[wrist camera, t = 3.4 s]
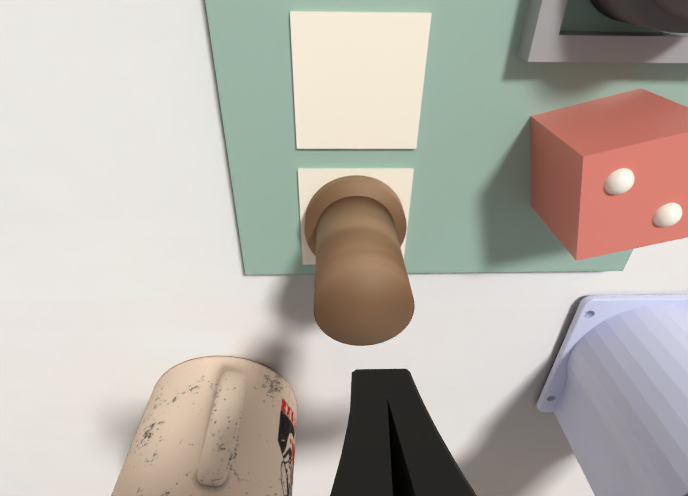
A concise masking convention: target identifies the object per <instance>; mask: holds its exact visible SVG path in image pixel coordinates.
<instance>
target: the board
mask: <svg viewBox="0 0 688 496" xmlns="http://www.w3.org/2000/svg"><path fill="white" fill-rule="evenodd" d="M205 3H206V10H207V17H208V24H209V31H210V37H211V44H212V51H213V58H214V65H215V72H216V78H217V85H218V92H219V99H220V106H221V113H222V119H223V126H224V133H225V140H226V147H227V153H228V160H229V167H230V174H231V181H232V188H233V194H234V201H235V208H236V215H237V222H238V229H239V235H240V242H241V249H242V256H243V263H244V270H245V275H269V274H315V263H316V256H315V255H314V254H313V253H312V251H311V250H310V248H309V246H308V244H307V242H306V238H305V232H304V227H305V214H306V209H307V207H308V204H309V202H310V200H311V198H312V197H313V195H314V194H315V193H316V192H317V191H318V190H319V189H320V188H321V187H322V186H324V185H325V184H327V183H328V182H330V181H332V180H335V179H337V178H340V177H345V176H351V175H361V176H368V177H372V178H375V179H377V180H379V181H382V182H383V183H385V184H386V185H388V186H389V187H390V188H391V189H392V190H393V191H394V192H395V193H396V194H397V196H398V198H399V199H400V202H401V204H402V207H403V210H404V214H405V217H406V223H407V229H406V235H405V238H404V241H403V243H402V245H401V247H400V248H401V252H402V256H403V259H404V263H405V267H406V271H407V273H466V272H564V271H623V269H624V267H625V265H626V263H627V261H628V259H629V257H630V255H631V253H632V250H633V249H629V250H625V251H620V252H615V253H610V254H606V255H601V256H596V257H592V258H587V259H582V260H577V261H576V260H575V259H574V258H573V256H572V255H571V254H570V253H569V251H568V250H567V249H566V248H565V247H564V245H563V244H562V243H561V242H560V241H559V239H558V238H557V237H556V236H555V235H554V233H553V232H552V231H551V230H550V228H549V227H548V226H547V225H546V224H545V222H544V221H543V220H542V219H541V218H540V216H539V215H538V214H537V213H536V212H535V210H534V209H533V208H532V207H531V116H533V115H537V114H541V113H545V112H549V111H553V110H557V109H560V108H564V107H568V106H572V105H576V104H580V103H584V102H588V101H592V100H596V99H600V98H604V97H608V96H612V95H616V94H620V93H624V92H628V91H632V90H636V89H640V88H642V89H645V90H647V91H650V92H652V93H654V94H657V95H659V96H662V97H664V98H667V99H669V100H671V101H674V102H676V103H679V104H681V105H684V106H686V107H688V33H671V32H666V31H661V30H657V29H652V28H647V27H643V26H638V25H633V24H629V23H624V22H620V21H616V20H613V19H611V18H609V17H607V16H605V15H604V14H602V13H601V12H599V11H598V10H597V9H596V8H595V6H594V5H593V4H592V3H591V1H590V0H205Z"/></svg>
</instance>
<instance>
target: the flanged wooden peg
mask: <svg viewBox="0 0 688 496" xmlns="http://www.w3.org/2000/svg"><path fill="white" fill-rule="evenodd" d="M406 229H407V223H406V217H405V214H404V210H403V207H402V204H401V202H400V199H399V198H398V196H397V194H396V193H395V192H394V191H393V190H392V189H391V188H390V187H389V186H388V185H386V184H385V183H383V182H382V181H379V180H377V179H375V178H372V177H368V176H361V175H351V176H345V177H340V178H337V179H335V180H332V181H330V182H328V183H327V184H325V185H324V186H322V187H321V188H320V189H319V190H318V191H317V192H316V193H315V194H314V195H313V197H312V198H311V200H310V202H309V204H308V207H307V209H306V214H305V227H304V232H305V238H306V242H307V244H308V246H309V248H310V250H311V251H312V253H313V254H314V255H315V256H316V263H315V292H314V316H315V320H316V322H317V324H318V326H319V327H320V329H321V330H322V331H323V332H324V333H325V334H326V335H328V336H329V337H331V338H332V339H334V340H336V341H339V342H341V343H345V344H349V345H357V346H365V345H374V344H378V343H382V342H384V341H387V340H389V339H391V338H393V337H395V336H396V335H398V334H399V333H400V332H402V331H403V330H404V329H405V328H406V326H407V325H408V324H409V322H410V321H411V319H412V316H413V313H414V299H413V295H412V291H411V287H410V283H409V279H408V275H407V271H406V267H405V263H404V259H403V256H402V252H401V248H400V247H401V245H402V243H403V241H404V238H405V235H406Z"/></svg>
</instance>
